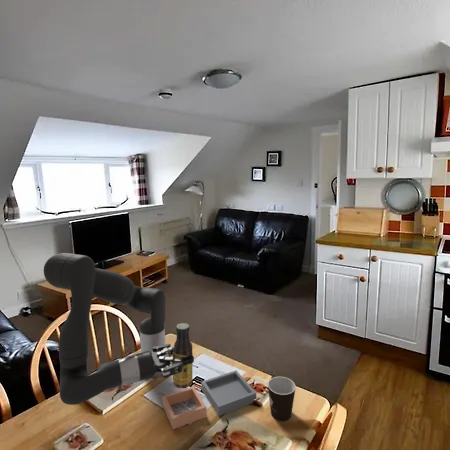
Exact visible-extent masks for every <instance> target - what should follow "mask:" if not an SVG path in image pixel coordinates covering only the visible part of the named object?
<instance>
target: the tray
mask: <svg viewBox="0 0 450 450" xmlns="http://www.w3.org/2000/svg"><path fill="white" fill-rule="evenodd" d="M201 391H202V392H203V394H204V395H205V397H206V399H207V401H208V402H209V403H210V405H211V406H212V408H213V410H214V411H215V413H216V414H217V416H218V417H220V416H223V415H226V414H229V413H230V412H234V411H235V410H236V411H237V410H238V409H241V408H244V407H246V406H249V405H251V404H254V403H253V400H254V399H256V400H257V392H256V391H255V389H253V387H252V386H251V385H250V384H249V383H248V381H246V380H245V379H244V377H243V376H242V375H241V374H240V373H239V372H238V371H237V370H233V371H230V372H227V373H223V374H222V375H221V374H220V375H218V376H213V377H211V378H208V379H206V380H202V381H201Z"/></svg>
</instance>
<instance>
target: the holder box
mask: <svg viewBox="0 0 450 450" xmlns="http://www.w3.org/2000/svg"><path fill="white" fill-rule="evenodd" d="M161 398H162V407H163V409H164V411H165V414H166V416H167V419H168V421H169V424H170V426H171V428H172V430H175V429H177V428H181V427H183V426H185V425H188V424H190V423H194V422H197V421H199V420H202V419H204V418H207V416H208V414H207V406H206V403H204V400H203V399H202V397H201V396H200V394H199V393H198V391H197V389H196V387H195V386H194V385H193V386H189V387H187V388H183V389H181V390H178V391H175V392H172V393H168V394H165V395H162V397H161ZM192 398H193V399H192ZM191 399H192V400H193V402H194V404H195V405H196V407H195V408H192V409H189V410H186V411H184V412H181V413H178V414H177V415H176V414H175V413H174V411H173V409H172V407H171V406H174V405H176V404H179V403H182V402H185V401H189V400H191Z"/></svg>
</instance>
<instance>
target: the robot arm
mask: <svg viewBox="0 0 450 450" xmlns="http://www.w3.org/2000/svg"><path fill="white" fill-rule="evenodd" d="M43 276H44V278H45V280H46V281H47V282H48V284H49V285H51V286H53V287H55V288H57V289H63V290H68V291H69V290H70V293H71V307H70V310H69V313H68V315H67V318H66V319H65V321H64V323H63V325H62V326H61V330H60V331H59V336H58V356H59V358H58V360H59V365H60V366H59V367H60V369H59V370H60V371H59V398H60V400H61V402H62V403H63V404H65V405H69V406H72V405H76V406H77V405H80V404H82V403H85V402H87V401H89V400H91V399H93V398H94V397H96V396H98V395H100V394H102V393H103V392H105V391H107V390H109V389H114V388H118V387H120V386H121V387H122V386H124V385H131V384H133V383H137V382H140V381H144V380H147V379H151V378H157V377H160V376H162V378H163V379H166V378H170V377H171V376H172V377H173V375H174V374H177V373H180V372H182V367H183V366H184V365H188V364H191V363H195V357H194V354H193V355H190V356H187V357H183V358H182V359H175V358H174V357H173V348H174V345H171V343H166V331H165V322H166V294H165V292H164V291H163V289H160V288H155V287H144V286H138V285H135V284H134V282H133V280H131V279H130V278H129V277H128V276H125V275H123V274H121V273H118V272H115V271H112V270H108V269H102V268H98V267H96V263H95V262H94V260H93V258H91V257H89V256H88V255H85V254H84V255H83V254H76V253H68V252H62V253H61V252H60V253H57V254H54V255H53V256H51V257H49V258H48V259H47V260H46V262H45V263H44V266H43ZM93 297H94V298H96V299H99V300H101V301H104V302H107V303H111V304H114V305H120V306H123V305H124V306H127V307H130V308H131V309H133V310H135V311H137V312H140V313H143V314H144V313H145V314H150V317H146V318H145V319H143V320H141V322H140V323H139V338H140V352H139V353H138V352H137V353H134V354H131V355H128V356H124V357H122V358H119V359H116V360H115V359H114V360H110V361H107V362H105V363H101V364H99V366H98V367H97V369H96V371H94V372H92V373H91V374H90V373H89V374H88V362H87V361H88V356H89V340H88V339H89V338H88V337H89V319H90V314H91V307H92V304H93V303H92V301H93ZM175 362H178V363H176V364H175ZM175 368H178V369H176V370H175Z"/></svg>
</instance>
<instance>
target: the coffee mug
mask: <svg viewBox="0 0 450 450" xmlns="http://www.w3.org/2000/svg"><path fill="white" fill-rule="evenodd" d="M296 387H297V386H296V384H295V382H294V381H293V380H292V379H290V378H289V377H286V376H275V375H271V377H270V379H269V380H268V381H267V390H268V391H267V392H268V400H269V408H270V415H271V416H272V418H273V419H274V420H276V421H279V422H287V421H289V420H290V419H291V417H292V413H293V407H294V401H295V394H296Z"/></svg>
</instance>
